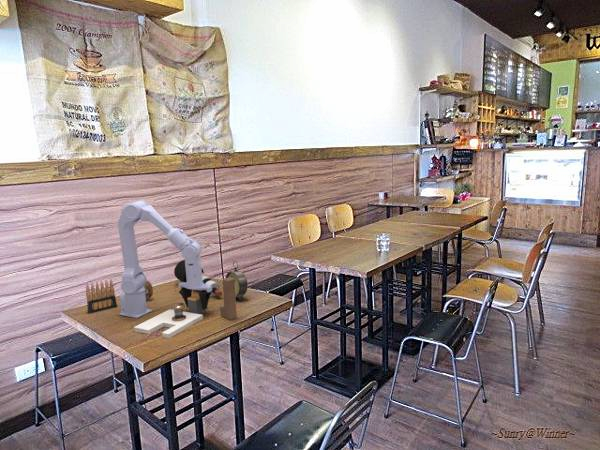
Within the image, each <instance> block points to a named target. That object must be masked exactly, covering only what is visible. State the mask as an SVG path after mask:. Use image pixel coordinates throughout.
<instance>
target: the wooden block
mask: <svg viewBox="0 0 600 450" xmlns="http://www.w3.org/2000/svg"><path fill="white" fill-rule="evenodd" d="M221 280H222V296H223V304H222V305H220V306H219V313H220V316H221V317H223V318H225V319H227V320H228V321H232V320H234V319H237V318H238V315H237V314H238V313H237V312H238V311H237V303H236V302H237V301H236V298H237V297H236V298H235V283H234V279H233V278H230V277H229V278H226V277H225V278H222V279H221Z"/></svg>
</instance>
